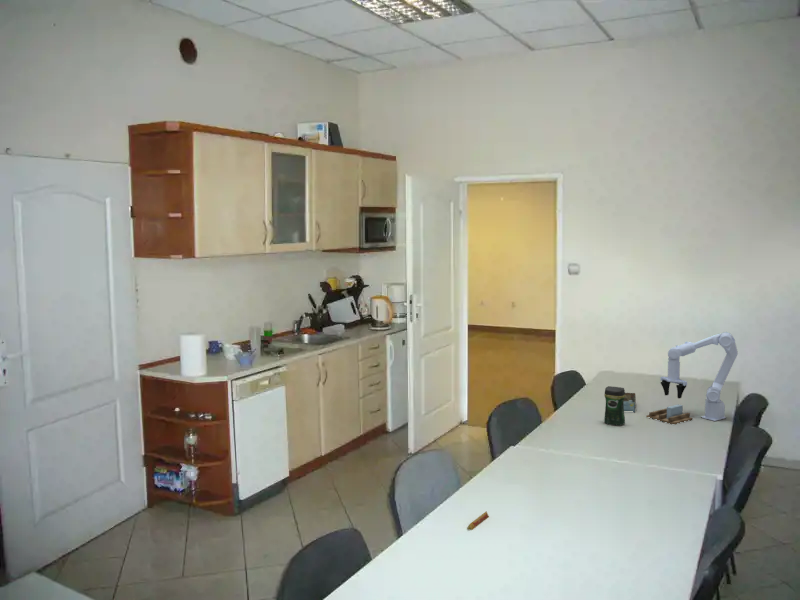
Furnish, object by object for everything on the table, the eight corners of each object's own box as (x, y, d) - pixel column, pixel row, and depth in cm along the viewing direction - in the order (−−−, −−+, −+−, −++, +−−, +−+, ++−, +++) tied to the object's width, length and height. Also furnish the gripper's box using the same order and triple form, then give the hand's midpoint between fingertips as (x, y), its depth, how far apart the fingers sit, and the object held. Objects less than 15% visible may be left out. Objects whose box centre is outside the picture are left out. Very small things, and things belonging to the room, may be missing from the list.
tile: (678, 415, 349) (678, 404, 348) (682, 417, 346) (682, 405, 346) (666, 418, 344) (666, 407, 343) (670, 419, 342) (671, 408, 341)
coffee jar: (626, 423, 341) (627, 386, 339) (621, 427, 335) (622, 389, 333) (607, 420, 347) (607, 384, 345) (602, 424, 340) (602, 387, 338)
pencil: (489, 518, 235) (489, 512, 235) (472, 531, 225) (473, 525, 225) (482, 516, 236) (483, 510, 236) (466, 529, 227) (466, 523, 226)
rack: (665, 412, 358) (665, 407, 358) (692, 419, 345) (692, 414, 344) (646, 417, 350) (646, 411, 350) (673, 424, 337) (673, 418, 336)
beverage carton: (619, 412, 362) (619, 399, 362) (620, 403, 380) (620, 391, 380) (634, 413, 360) (635, 400, 359) (635, 404, 377) (635, 392, 377)
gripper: (656, 369, 357) (656, 394, 358) (681, 374, 344) (680, 400, 346) (665, 367, 360) (664, 392, 362) (689, 372, 348) (689, 398, 350)
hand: (673, 396), depth 354 cm, fingers open, 7 cm apart
